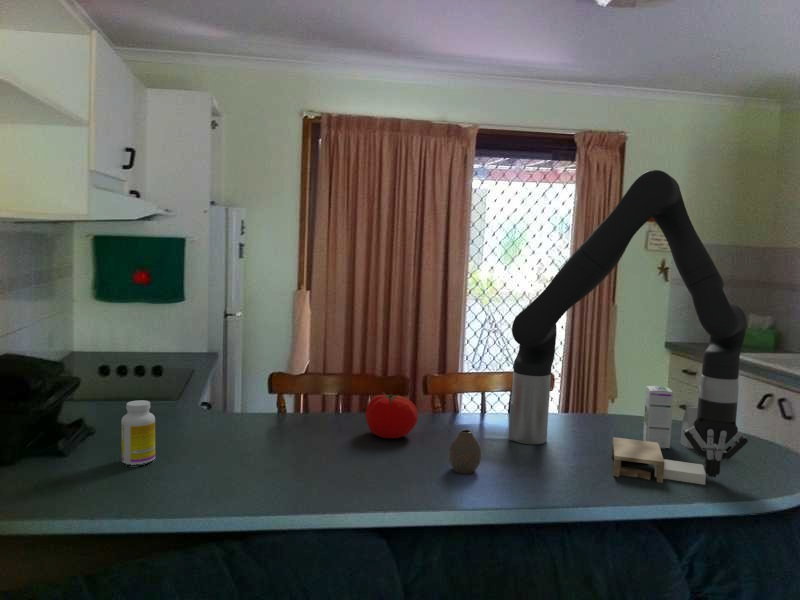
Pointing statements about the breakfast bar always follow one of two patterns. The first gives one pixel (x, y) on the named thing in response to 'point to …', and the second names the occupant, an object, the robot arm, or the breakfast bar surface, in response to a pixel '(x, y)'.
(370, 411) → the tomato
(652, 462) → the small tan table
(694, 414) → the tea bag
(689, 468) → the tile
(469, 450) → the vase
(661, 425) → the syrup box
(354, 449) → the breakfast bar surface
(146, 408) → the supplement bottle
